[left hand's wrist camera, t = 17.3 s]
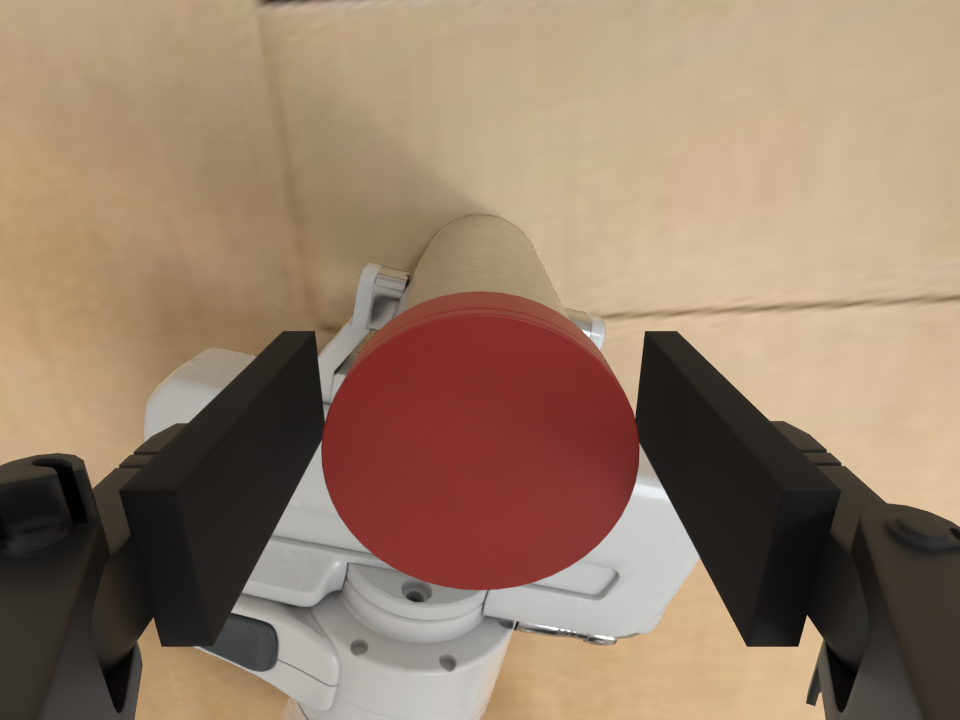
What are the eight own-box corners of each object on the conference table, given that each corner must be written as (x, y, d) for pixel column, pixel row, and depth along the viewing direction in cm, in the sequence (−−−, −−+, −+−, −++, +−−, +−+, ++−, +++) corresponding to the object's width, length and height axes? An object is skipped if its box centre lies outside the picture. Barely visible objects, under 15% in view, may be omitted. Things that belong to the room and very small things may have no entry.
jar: (480, 354, 26) (481, 600, 12) (395, 276, 25) (287, 451, 11) (564, 275, 25) (674, 448, 11) (479, 187, 23) (478, 257, 9)
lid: (672, 355, 11) (700, 388, 10) (547, 571, 13) (556, 624, 12) (394, 243, 10) (381, 259, 9) (306, 490, 12) (283, 537, 11)
